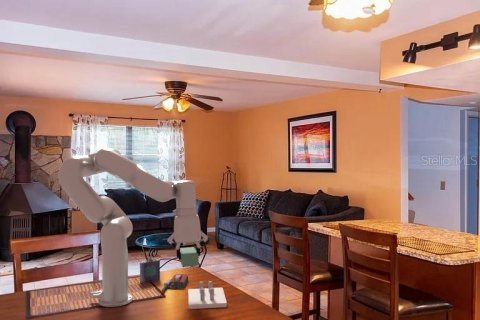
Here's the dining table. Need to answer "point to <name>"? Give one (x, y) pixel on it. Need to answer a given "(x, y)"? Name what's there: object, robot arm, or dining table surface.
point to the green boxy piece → (189, 257)
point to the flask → (149, 270)
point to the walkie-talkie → (176, 282)
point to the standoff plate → (206, 297)
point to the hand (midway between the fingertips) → (188, 258)
